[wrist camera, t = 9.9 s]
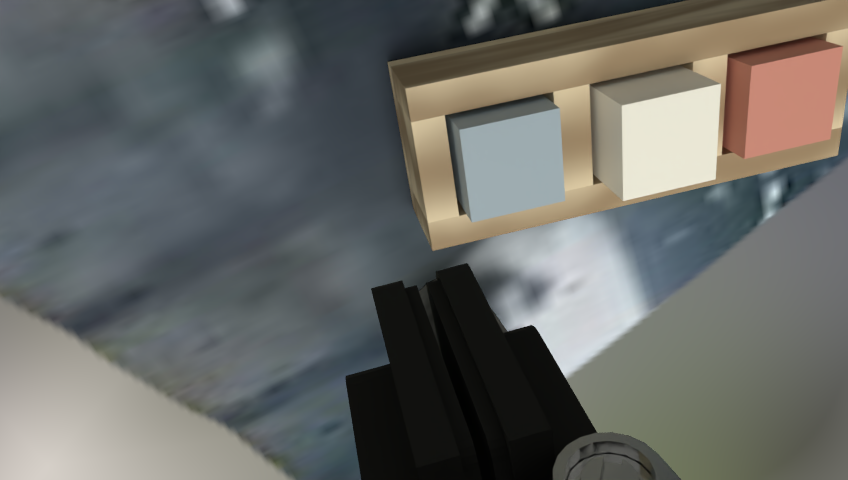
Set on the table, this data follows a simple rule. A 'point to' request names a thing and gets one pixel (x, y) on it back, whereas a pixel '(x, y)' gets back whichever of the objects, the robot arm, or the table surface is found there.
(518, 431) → the robot arm
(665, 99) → the white key
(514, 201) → the blue key
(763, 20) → the key box
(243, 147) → the table surface
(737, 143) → the red key
